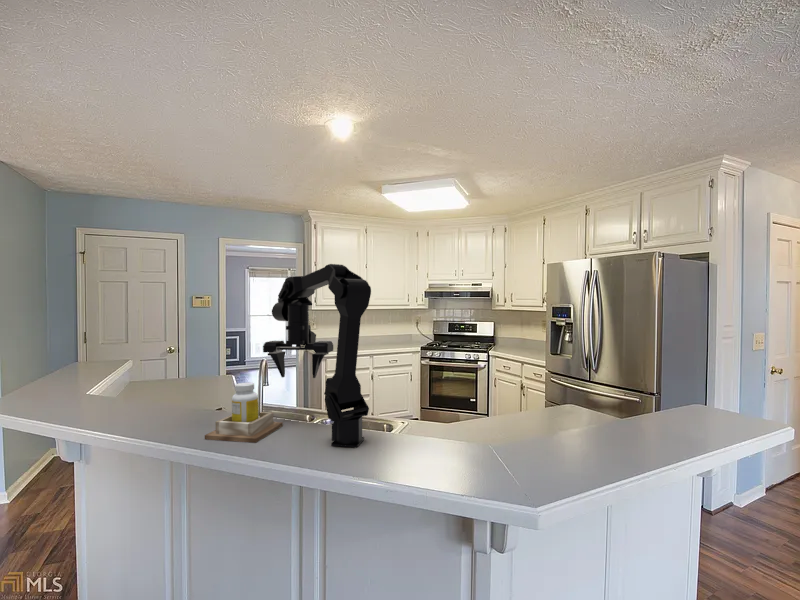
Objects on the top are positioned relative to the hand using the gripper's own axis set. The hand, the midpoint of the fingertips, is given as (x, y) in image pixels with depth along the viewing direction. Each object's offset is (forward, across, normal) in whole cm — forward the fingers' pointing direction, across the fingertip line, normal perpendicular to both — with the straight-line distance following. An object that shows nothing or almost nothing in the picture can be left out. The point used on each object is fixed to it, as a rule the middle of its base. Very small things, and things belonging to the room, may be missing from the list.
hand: (298, 377), depth 120 cm
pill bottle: (+12, +11, +10) cm, 19 cm away
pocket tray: (+13, +11, +10) cm, 19 cm away
